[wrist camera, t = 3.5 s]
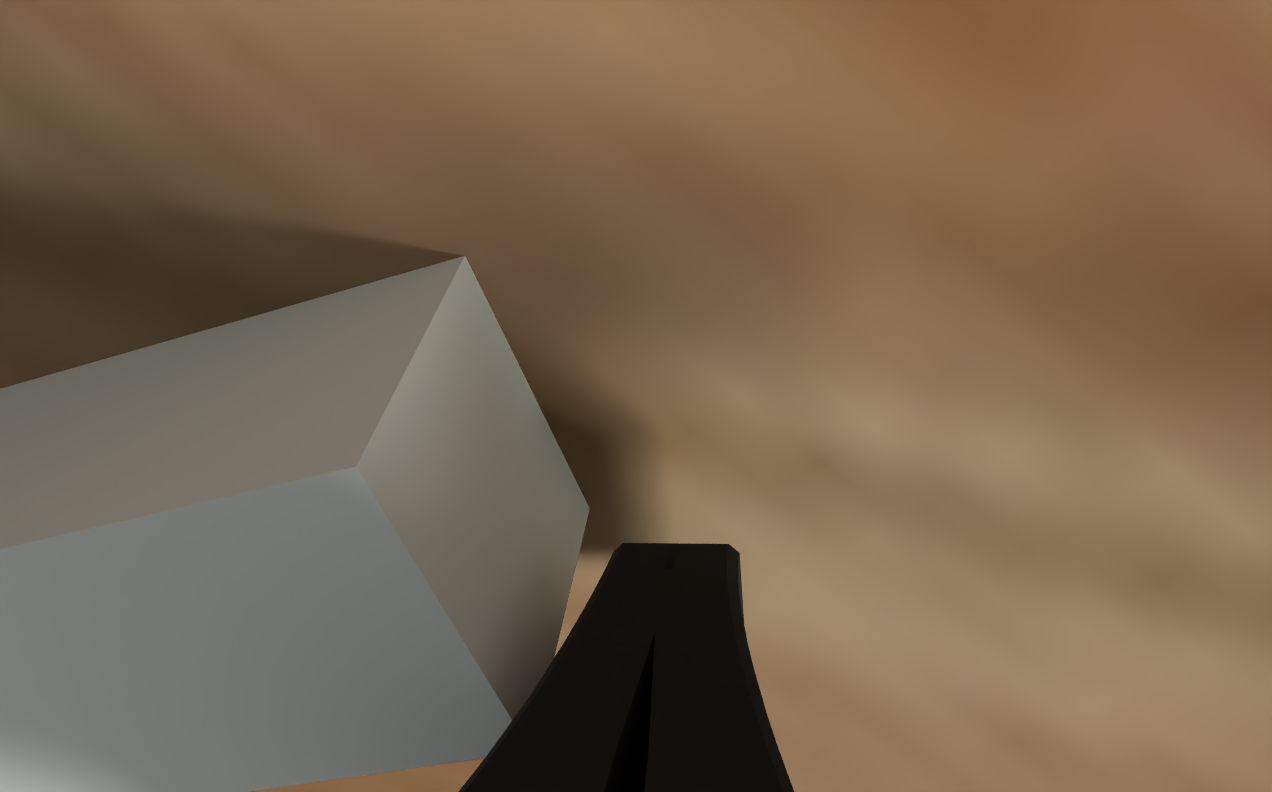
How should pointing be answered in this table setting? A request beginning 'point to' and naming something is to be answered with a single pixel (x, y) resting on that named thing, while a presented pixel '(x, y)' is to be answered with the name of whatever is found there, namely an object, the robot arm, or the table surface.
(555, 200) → the table surface
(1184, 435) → the table surface
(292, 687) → the gray rectangular block
